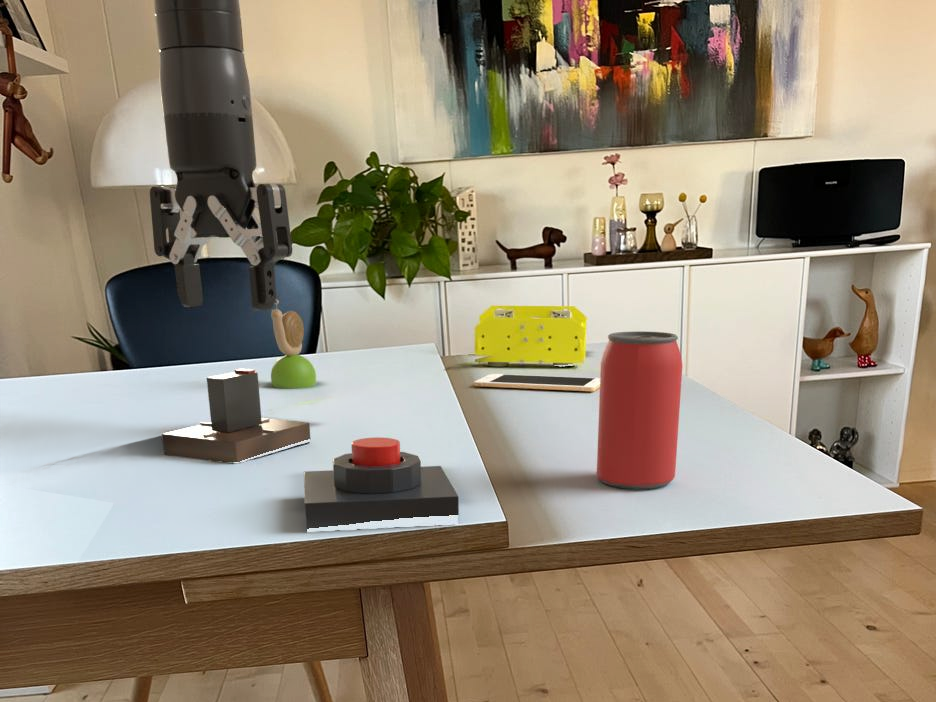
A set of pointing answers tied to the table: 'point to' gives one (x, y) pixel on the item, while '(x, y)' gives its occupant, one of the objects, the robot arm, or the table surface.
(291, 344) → the snail figurine
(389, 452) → the button
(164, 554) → the table surface
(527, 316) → the yellow toy chassis
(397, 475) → the button block
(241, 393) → the dark grey rectangular block
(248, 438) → the dial panel
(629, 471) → the beer can
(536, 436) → the table surface
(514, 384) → the cell phone
